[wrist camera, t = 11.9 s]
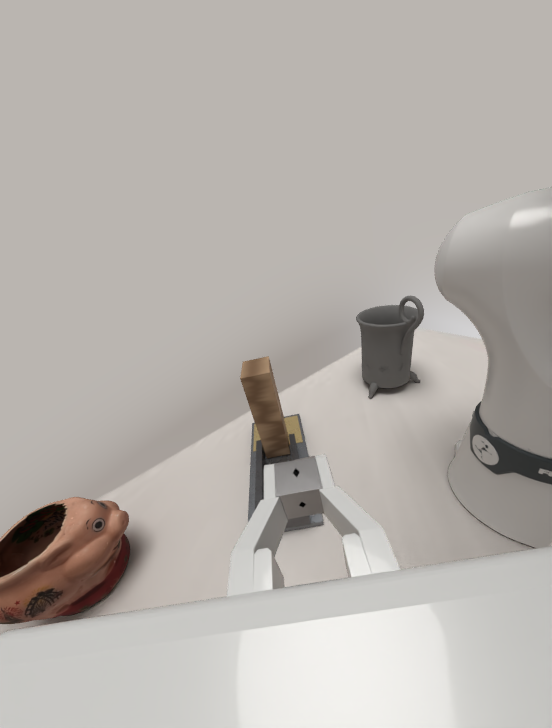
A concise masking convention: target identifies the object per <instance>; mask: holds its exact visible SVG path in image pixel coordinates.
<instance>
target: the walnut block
mask: <svg viewBox="0 0 552 728" xmlns="http://www.w3.org/2000/svg"><path fill="white" fill-rule="evenodd" d="M240 379H241V382H242V385H243V388H244V391H245V394H246V397H247V400H248V403H249V406H250V409H251V412H252V415H253V418H254V421H255V424H256V427H257V430H258V433H259V436H260V439H261V442H262V445H263V448H264V451H265V454H266V457H267V458H272V457H277V456H282V455H287V454H290V447H289V440H288V432H287V428H286V424H285V420H284V416H283V412H282V408H281V404H280V400H279V396H278V392H277V388H276V385H275V380H274V376H273V372H272V368H271V364H270V360H269V357H263V358H259V359H254V360H249V361H245V362H243V364H242V371H241V378H240Z"/></svg>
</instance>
